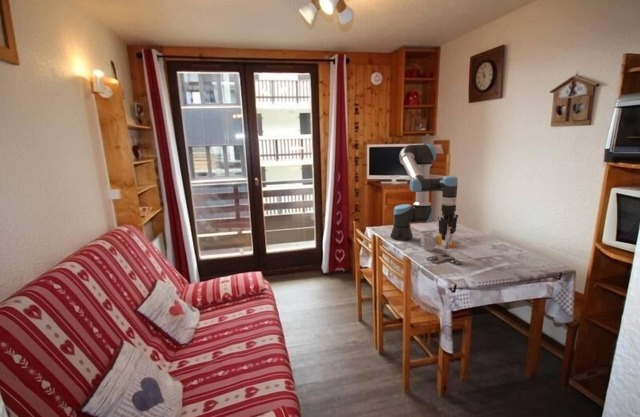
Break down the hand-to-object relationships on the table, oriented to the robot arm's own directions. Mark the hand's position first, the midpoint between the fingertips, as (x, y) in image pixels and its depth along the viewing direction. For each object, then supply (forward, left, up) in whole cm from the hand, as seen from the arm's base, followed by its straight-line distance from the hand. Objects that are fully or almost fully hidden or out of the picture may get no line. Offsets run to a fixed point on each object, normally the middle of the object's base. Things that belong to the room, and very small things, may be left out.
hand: (446, 244), depth 182 cm
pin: (0, 0, -2) cm, 2 cm away
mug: (-18, +3, -10) cm, 21 cm away
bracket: (-17, +19, -10) cm, 28 cm away
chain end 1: (0, -4, -8) cm, 9 cm away
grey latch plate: (+4, 0, -10) cm, 10 cm away
